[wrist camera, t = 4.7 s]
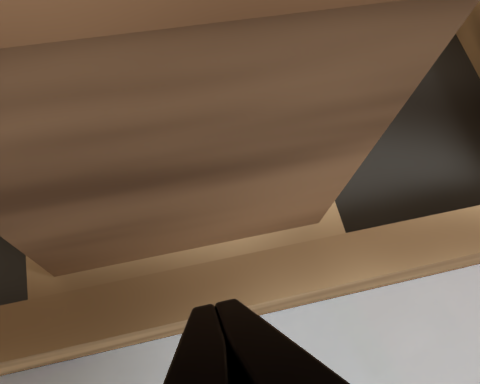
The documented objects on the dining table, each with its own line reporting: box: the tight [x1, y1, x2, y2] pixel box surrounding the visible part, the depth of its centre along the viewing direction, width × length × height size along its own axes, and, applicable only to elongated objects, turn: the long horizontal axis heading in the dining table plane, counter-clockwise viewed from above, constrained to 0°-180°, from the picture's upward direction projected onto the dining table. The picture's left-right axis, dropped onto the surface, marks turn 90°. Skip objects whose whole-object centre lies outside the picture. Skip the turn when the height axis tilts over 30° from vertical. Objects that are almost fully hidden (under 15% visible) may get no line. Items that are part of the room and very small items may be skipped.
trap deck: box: [0, 1, 480, 376], centre depth 18 cm, size 23×32×3 cm
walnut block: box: [0, 0, 480, 277], centre depth 11 cm, size 10×8×9 cm
